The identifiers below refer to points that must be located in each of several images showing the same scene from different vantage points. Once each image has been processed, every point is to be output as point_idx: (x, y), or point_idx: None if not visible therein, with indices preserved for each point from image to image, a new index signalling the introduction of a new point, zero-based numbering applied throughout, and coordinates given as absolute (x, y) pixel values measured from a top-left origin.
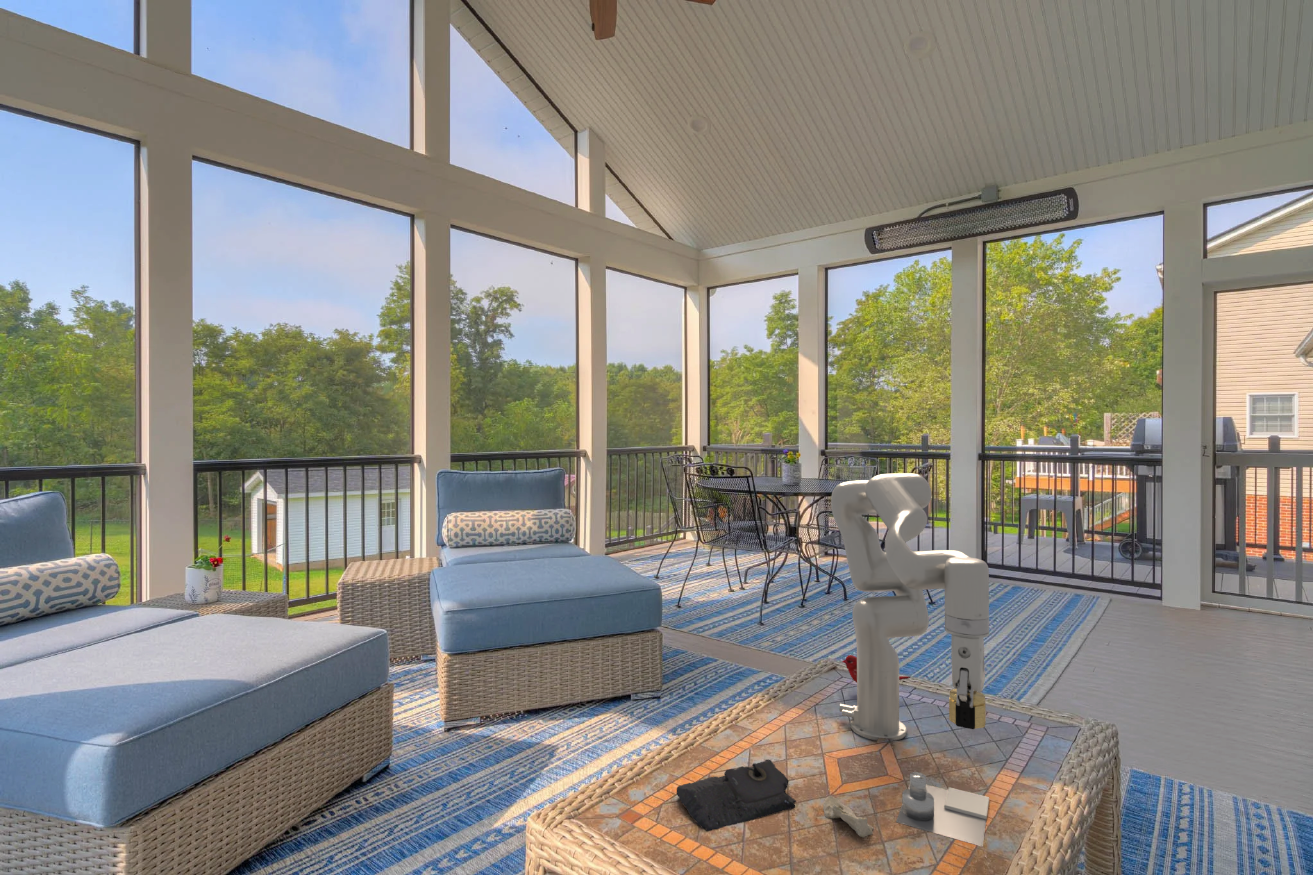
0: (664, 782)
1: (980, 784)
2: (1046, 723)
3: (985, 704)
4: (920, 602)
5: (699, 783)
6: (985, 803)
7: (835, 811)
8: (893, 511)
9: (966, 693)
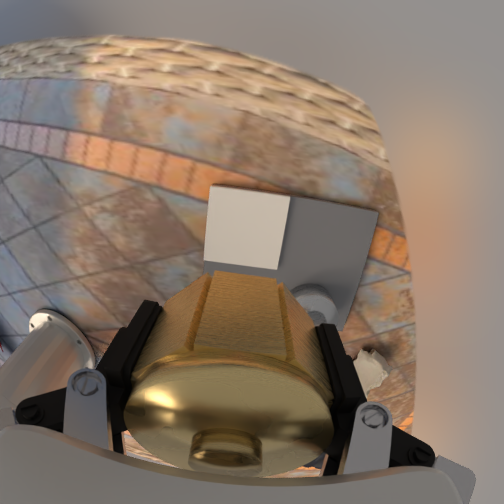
0: (305, 471)
1: (137, 197)
2: None
3: (208, 331)
4: None
5: (320, 466)
6: (240, 195)
7: None
8: None
9: (472, 480)
